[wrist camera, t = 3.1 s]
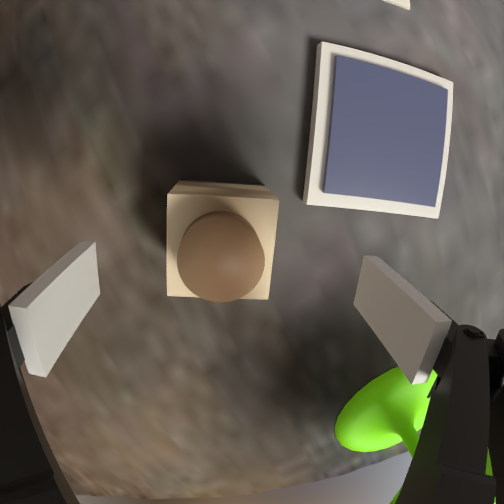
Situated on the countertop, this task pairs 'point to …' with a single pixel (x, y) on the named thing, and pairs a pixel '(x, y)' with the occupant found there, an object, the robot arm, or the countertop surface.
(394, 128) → the ink pad
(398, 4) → the print card
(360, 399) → the wineglass
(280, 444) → the countertop surface
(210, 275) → the wooden stamp
